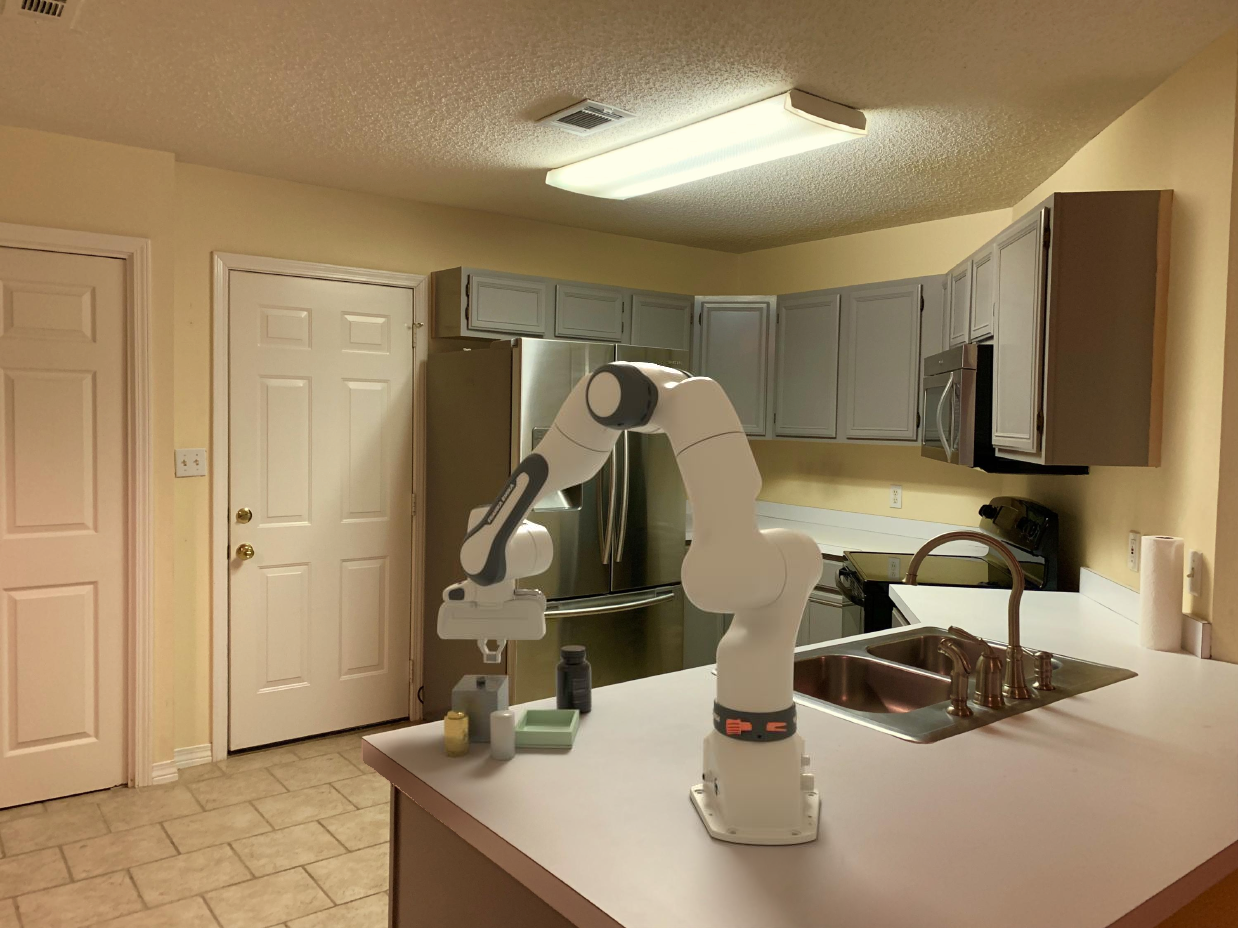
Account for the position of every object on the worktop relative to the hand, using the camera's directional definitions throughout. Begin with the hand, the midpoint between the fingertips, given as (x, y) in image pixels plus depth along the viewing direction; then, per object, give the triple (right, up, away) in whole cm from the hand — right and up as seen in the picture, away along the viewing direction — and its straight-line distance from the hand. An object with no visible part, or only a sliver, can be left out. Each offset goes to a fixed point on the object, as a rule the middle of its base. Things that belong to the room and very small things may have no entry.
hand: (492, 662), depth 170 cm
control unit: (-1, -11, -10) cm, 14 cm away
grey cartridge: (+5, -11, -21) cm, 24 cm away
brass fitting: (-3, -11, -19) cm, 23 cm away
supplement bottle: (+15, -10, +3) cm, 19 cm away
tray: (+11, -11, -11) cm, 19 cm away
